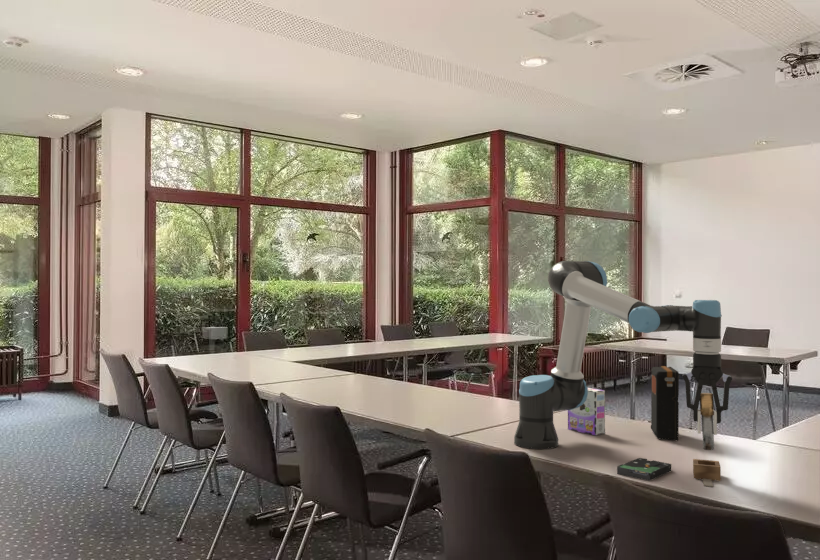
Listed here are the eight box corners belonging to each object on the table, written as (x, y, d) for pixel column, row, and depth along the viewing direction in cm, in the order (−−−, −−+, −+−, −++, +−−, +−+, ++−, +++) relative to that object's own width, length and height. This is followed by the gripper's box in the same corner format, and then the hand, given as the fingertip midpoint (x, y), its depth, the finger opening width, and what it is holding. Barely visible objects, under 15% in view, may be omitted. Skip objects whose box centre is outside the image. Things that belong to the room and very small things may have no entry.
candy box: (605, 434, 255) (605, 390, 255) (595, 436, 251) (595, 391, 251) (577, 427, 266) (577, 385, 266) (566, 429, 263) (567, 386, 263)
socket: (693, 478, 197) (694, 464, 197) (693, 472, 204) (693, 458, 204) (720, 481, 195) (720, 467, 195) (718, 474, 201) (718, 461, 201)
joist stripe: (703, 486, 190) (703, 485, 190) (700, 467, 209) (700, 466, 209) (713, 487, 189) (713, 486, 189) (708, 467, 209) (708, 466, 209)
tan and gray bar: (702, 450, 198) (699, 394, 198) (701, 447, 201) (699, 392, 201) (715, 450, 196) (713, 394, 197) (714, 447, 200) (712, 393, 200)
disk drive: (638, 466, 213) (616, 475, 202) (639, 457, 213) (616, 465, 202) (671, 472, 205) (650, 482, 195) (671, 463, 205) (650, 472, 195)
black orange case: (681, 441, 243) (681, 371, 243) (655, 440, 245) (656, 370, 245) (673, 432, 258) (673, 366, 258) (649, 431, 260) (649, 365, 260)
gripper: (676, 352, 199) (676, 433, 199) (739, 355, 193) (739, 438, 193) (676, 350, 206) (676, 428, 206) (737, 352, 200) (737, 432, 200)
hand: (707, 433), depth 199 cm, fingers closed on tan and gray bar, 4 cm apart
